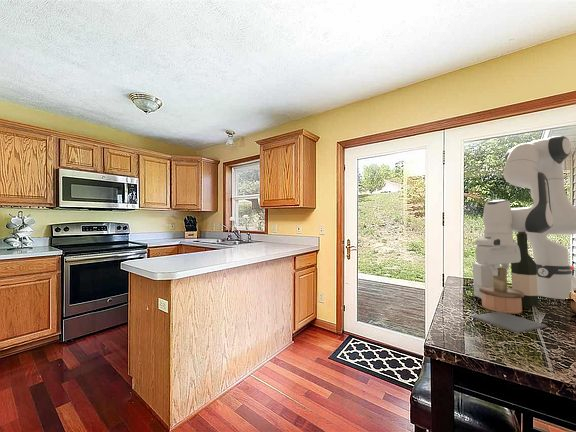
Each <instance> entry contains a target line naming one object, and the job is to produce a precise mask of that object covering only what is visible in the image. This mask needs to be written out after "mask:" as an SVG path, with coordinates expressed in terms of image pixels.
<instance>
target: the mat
mask: <svg viewBox="0 0 576 432" xmlns="http://www.w3.org/2000/svg"><path fill="white" fill-rule="evenodd" d="M471 318H473V319H476V320H477V321H478V320H479V321H482V322H484V323H487V324H490V325H493V326H495V327H498V328H501V329H504V330H506V331H510V332H513V333H516V334H520V333H525V332H529V331H534V330H539V329H543V328H547V326H548V325H547V324H544V323H541V322H538V321H535V320H530V319H526V318H523V317H520V316H517V315H515V314H508V313H504V312H500V311H497V312H496V311H492V312H486V313H480V314H475V315H471Z"/></svg>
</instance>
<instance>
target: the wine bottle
mask: <svg viewBox="0 0 576 432" xmlns="http://www.w3.org/2000/svg"><path fill="white" fill-rule="evenodd" d="M516 242H517V245H518V246H519V249H520V255H521V260H520V262H518V263H510V268H511V269H510V270H511V271H510V272H511V289H515V290H518V291H521V292H523V293H524V297H522V298H521V299H522V306H527V307H539V296H538V289H537V270H536V263H535V262H534V258H532V256H531V255H530V254H529V250H528V249H529V246H528V240H527V234H526V232H517V233H516Z"/></svg>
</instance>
